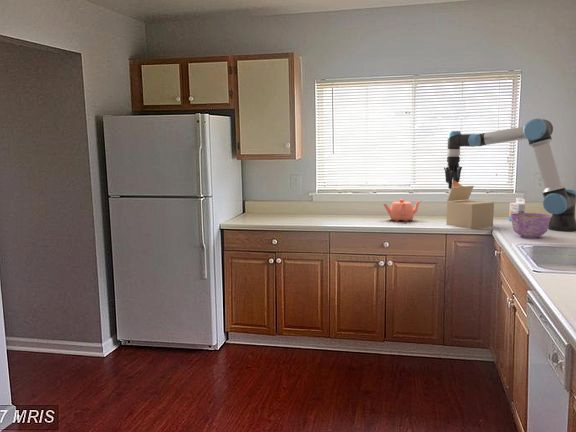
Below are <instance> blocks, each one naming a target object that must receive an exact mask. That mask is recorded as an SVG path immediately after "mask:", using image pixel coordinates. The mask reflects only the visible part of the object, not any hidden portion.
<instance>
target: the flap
mask: <svg viewBox="0 0 576 432" xmlns="http://www.w3.org/2000/svg"><path fill="white" fill-rule="evenodd" d="M452 184H453V186H454V187H452V189H451V192H450V194H449V193H448V197H447V200H446V202H452V201H464V200H470V196H471V194H472V192H473V189H474V185H467V186H466V185H462V184H460V183H459V182H456V181H453V180H452Z"/></svg>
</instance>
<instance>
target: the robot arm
mask: <svg viewBox="0 0 576 432" xmlns="http://www.w3.org/2000/svg"><path fill="white" fill-rule="evenodd" d="M553 132H554V126H553V124H552V122H551V121H549V120H547V119H545V118H543V119H542V118H532V119H530V120H529V121H527V122H526V123H525V125H524V126H519V127H512V128H507V129H502V130H501V129H500V130H496V131H495V130H494V131H488V132H482V133H465V134H463V133H461V131H460V130H449V131H448V133H447V151H446V152H447V153H446V155H447V158H446V163H447V165H446V166H444V167H443V169H444V176H445V183H446V184H448V187H447V188H448V195H449V194H450V192H451V189H452V187H454V186H453V184H452V183H453V181H456V182H458V183H459V182H460V179H461V173H462V172H461V171H462V169H463V167H462V166H460V160H461V159H460V158H461V157H460V155H461V147H470V148H471V147H472V148H473V147H474V148H475V147H483V146H488V145H495V144H501V143H509V142H515V141H522V140H528V141H527V142H528V145H529V146H530V147H531V148H533V152H534V156H535V158H536V163H537V166H538V169H539V174H540V176H541V177H540V178H541V181H542V185H543V188H544V189H543V191H542V196H543V202H542V205H543V208H544V210H545V211H546V212H547V213H549V214H551V220H550V223H549V226H548V229H547V230H551V231H558V232H576V190H575V189H569V188H568V189H567V188H566V187H565V186H563V184H562V183H561V179H560V176H559V172H558V167H557V165H556V161H555V157H554V155H553V150H552V146H551V143H552V142H551V141H552V134H553Z"/></svg>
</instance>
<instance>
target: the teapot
mask: <svg viewBox="0 0 576 432" xmlns="http://www.w3.org/2000/svg"><path fill="white" fill-rule="evenodd" d="M421 202H422V200H418V201H417V202H416V203H415V206H414V208H413V204H412V202H411V201H405V199H404V198H403V199H402V198H400V199H399V200H398V201H392V203H391V206H390V207H389V205H388V204H387V203H384V204H383V207H384V208H385V209H386V212H387V213H388V215H389V217H390V219H391V220H393V221H394V222H397V223H398V222H400V221H404V222H405V223H406V222H410V221H412V220H413V219H414V217H415V214H416V213H417V212H418V210H419V205H420V203H421Z"/></svg>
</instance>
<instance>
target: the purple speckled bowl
mask: <svg viewBox="0 0 576 432" xmlns="http://www.w3.org/2000/svg"><path fill="white" fill-rule="evenodd" d="M510 216H511V221H510V222H511V225H512V229H513V231H514V232H515V233H516V234H517V235H519V236H520V237H521V238H526V239H537V238H538V237H542V235H545V234H546V232H548V230H549V229H548V226H549V223H550V220H551V217H552V215H550V214H545V213H544V214H543V213H534V212H524V213H514V214H511V215H510Z"/></svg>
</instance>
